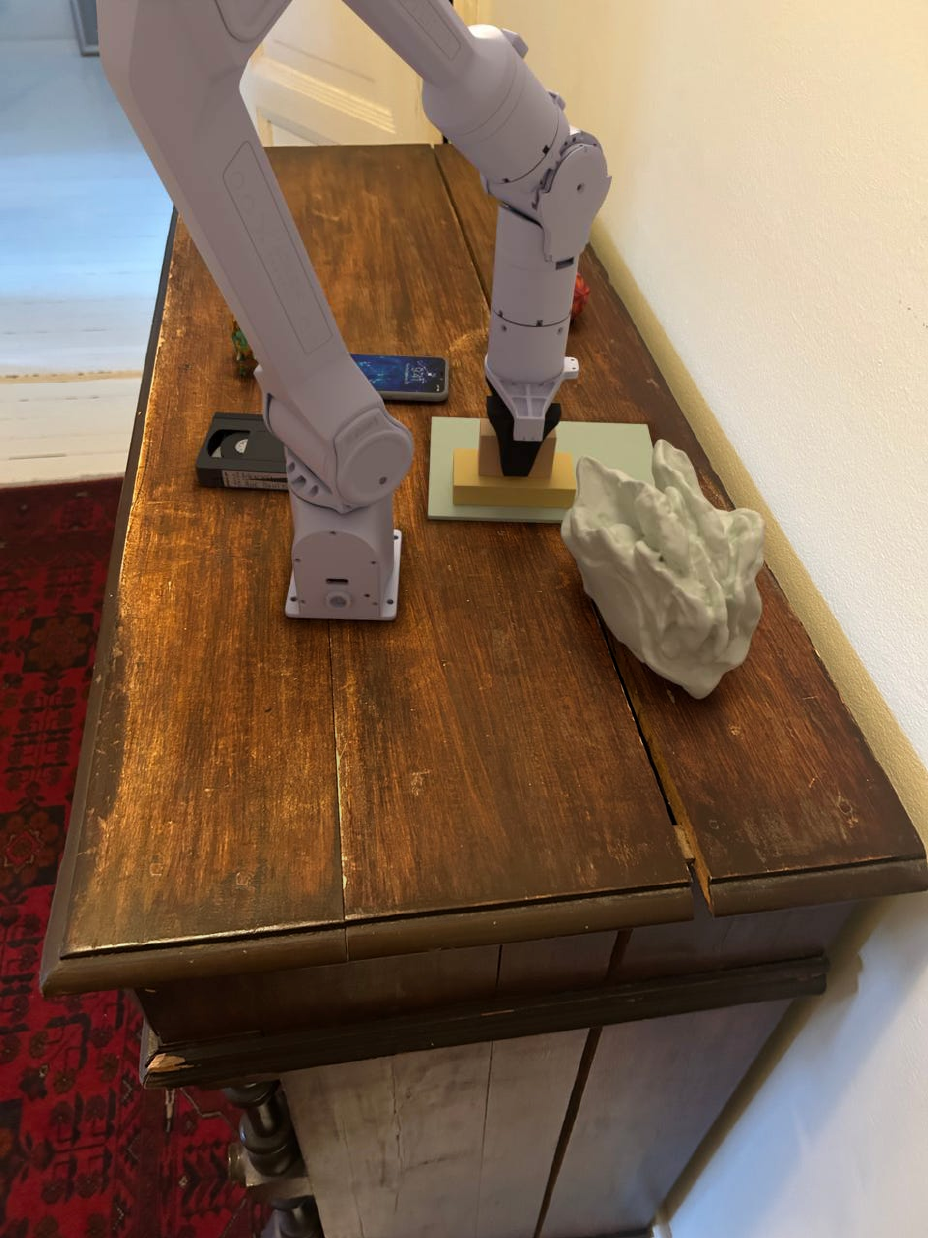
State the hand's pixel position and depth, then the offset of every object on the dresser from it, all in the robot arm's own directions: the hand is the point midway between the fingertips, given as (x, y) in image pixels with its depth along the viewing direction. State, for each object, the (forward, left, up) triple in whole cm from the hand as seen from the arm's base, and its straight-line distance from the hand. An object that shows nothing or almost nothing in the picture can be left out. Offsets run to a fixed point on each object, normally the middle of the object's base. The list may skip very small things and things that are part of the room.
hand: (514, 462), depth 71 cm
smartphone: (+16, +13, -3) cm, 21 cm away
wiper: (0, 0, -3) cm, 3 cm away
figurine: (+20, +25, -3) cm, 32 cm away
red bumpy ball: (+30, -6, -3) cm, 31 cm away
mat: (+3, -3, -3) cm, 5 cm away
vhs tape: (+3, +19, -3) cm, 19 cm away
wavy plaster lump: (-14, -9, -3) cm, 17 cm away
